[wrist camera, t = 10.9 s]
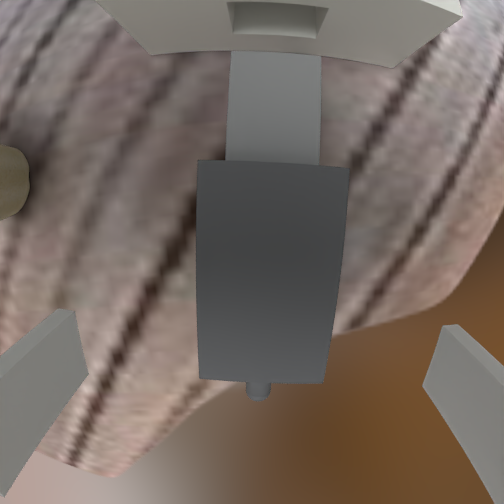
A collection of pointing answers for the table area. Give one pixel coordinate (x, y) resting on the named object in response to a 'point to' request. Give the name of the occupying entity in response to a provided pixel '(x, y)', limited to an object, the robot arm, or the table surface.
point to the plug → (269, 230)
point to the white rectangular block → (287, 26)
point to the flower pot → (12, 181)
